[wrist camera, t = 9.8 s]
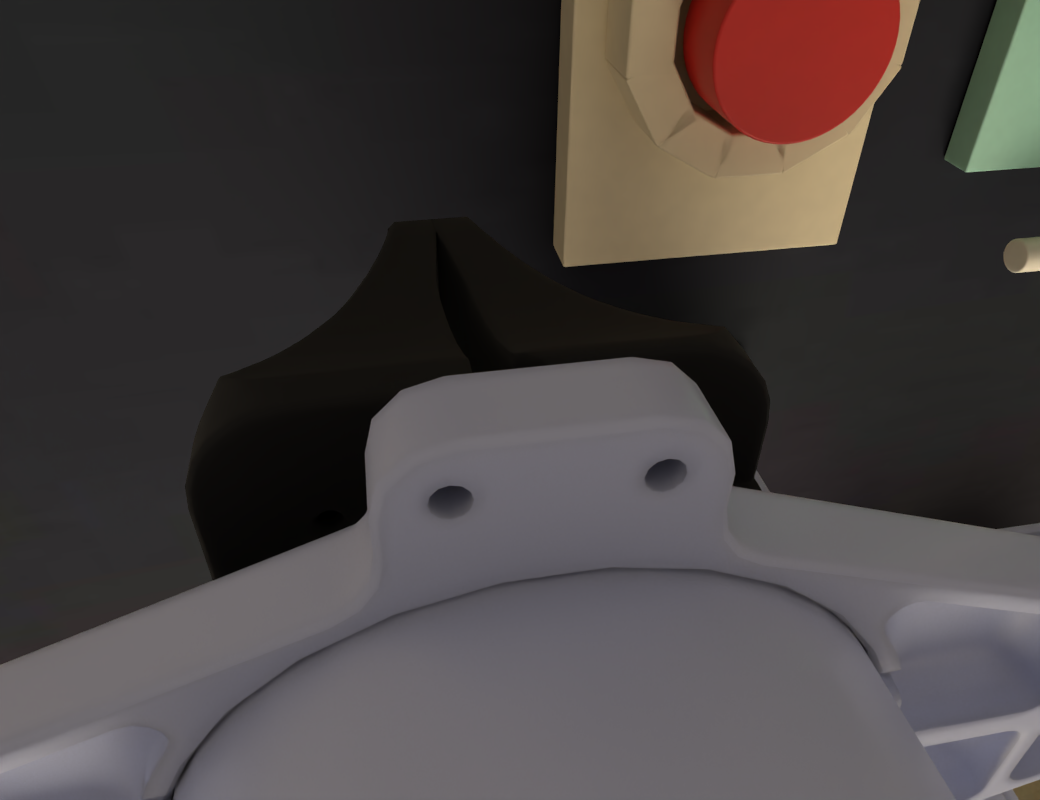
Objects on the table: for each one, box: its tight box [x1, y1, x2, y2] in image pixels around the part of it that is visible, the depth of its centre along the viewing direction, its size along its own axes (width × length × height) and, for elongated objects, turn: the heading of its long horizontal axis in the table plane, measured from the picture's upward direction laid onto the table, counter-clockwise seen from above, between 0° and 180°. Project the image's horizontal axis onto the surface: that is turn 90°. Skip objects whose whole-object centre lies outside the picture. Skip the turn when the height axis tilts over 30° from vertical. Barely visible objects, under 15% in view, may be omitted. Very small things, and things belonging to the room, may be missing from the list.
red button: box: [683, 0, 900, 144], centre depth 19 cm, size 4×4×2 cm
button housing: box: [553, 0, 920, 267], centre depth 21 cm, size 12×9×4 cm
